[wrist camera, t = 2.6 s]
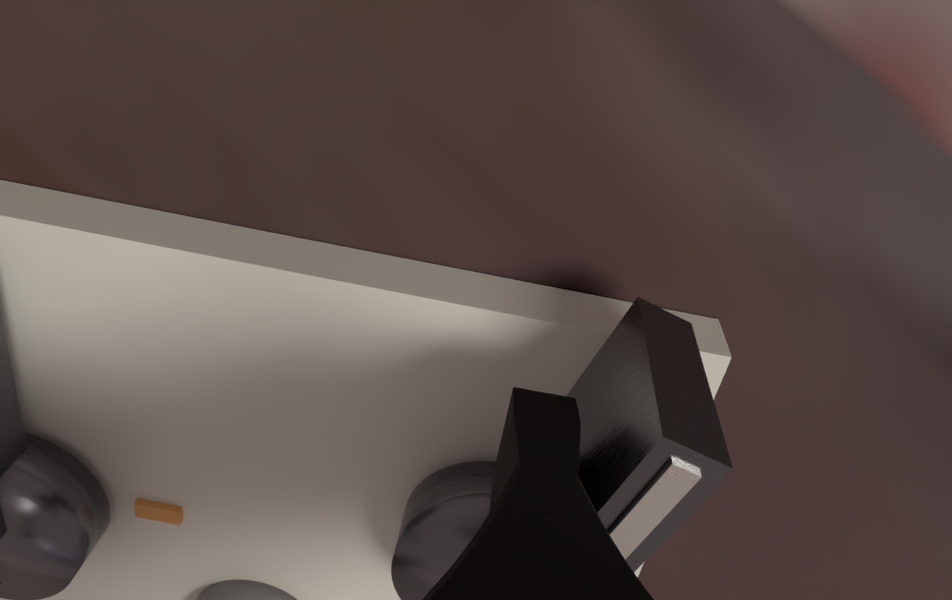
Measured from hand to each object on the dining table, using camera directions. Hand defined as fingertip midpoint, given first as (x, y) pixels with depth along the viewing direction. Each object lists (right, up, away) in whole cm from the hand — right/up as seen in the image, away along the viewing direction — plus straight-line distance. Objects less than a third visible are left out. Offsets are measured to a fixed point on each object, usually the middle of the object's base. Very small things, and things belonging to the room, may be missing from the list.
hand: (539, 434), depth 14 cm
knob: (0, -1, +3) cm, 3 cm away
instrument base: (-7, -2, +7) cm, 10 cm away
